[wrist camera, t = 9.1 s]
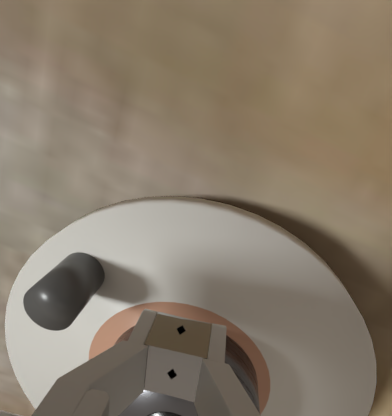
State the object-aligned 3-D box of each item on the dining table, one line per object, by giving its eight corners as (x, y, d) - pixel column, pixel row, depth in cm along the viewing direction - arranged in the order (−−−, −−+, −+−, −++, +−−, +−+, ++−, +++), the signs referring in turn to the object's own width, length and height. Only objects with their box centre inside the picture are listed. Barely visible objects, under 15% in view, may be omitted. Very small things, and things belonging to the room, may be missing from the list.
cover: (86, 329, 16) (54, 374, 14) (236, 306, 15) (236, 353, 12) (138, 435, 19) (120, 493, 16) (272, 428, 17) (279, 491, 14)
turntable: (-18, 229, 19) (-123, 279, 13) (331, 145, 14) (392, 167, 9) (101, 453, 25) (62, 550, 19) (370, 445, 20) (420, 570, 15)
